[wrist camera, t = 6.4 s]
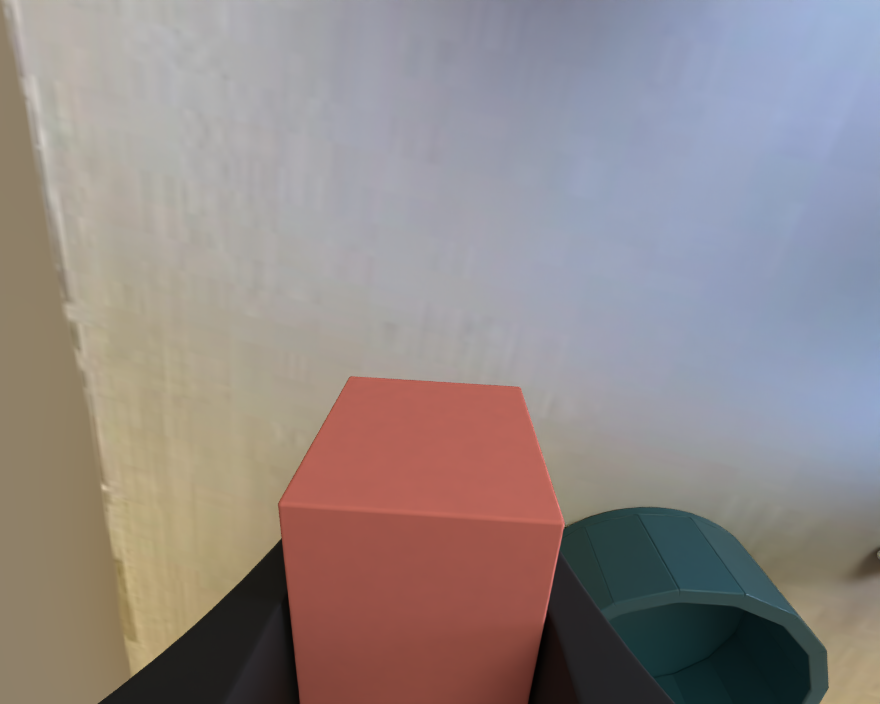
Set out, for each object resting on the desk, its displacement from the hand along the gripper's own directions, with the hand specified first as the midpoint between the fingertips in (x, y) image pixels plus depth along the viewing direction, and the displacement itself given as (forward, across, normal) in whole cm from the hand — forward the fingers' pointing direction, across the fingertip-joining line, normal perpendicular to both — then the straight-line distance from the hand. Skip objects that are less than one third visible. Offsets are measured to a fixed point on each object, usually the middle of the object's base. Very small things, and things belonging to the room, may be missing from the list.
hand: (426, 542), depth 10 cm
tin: (+8, -11, +12) cm, 18 cm away
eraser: (+2, 0, 0) cm, 2 cm away
